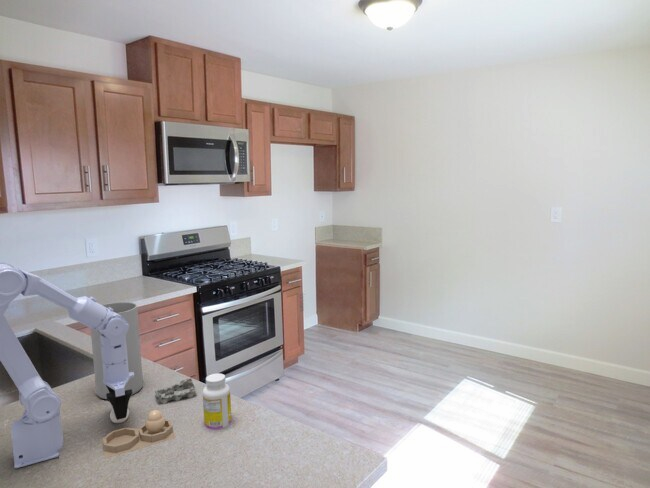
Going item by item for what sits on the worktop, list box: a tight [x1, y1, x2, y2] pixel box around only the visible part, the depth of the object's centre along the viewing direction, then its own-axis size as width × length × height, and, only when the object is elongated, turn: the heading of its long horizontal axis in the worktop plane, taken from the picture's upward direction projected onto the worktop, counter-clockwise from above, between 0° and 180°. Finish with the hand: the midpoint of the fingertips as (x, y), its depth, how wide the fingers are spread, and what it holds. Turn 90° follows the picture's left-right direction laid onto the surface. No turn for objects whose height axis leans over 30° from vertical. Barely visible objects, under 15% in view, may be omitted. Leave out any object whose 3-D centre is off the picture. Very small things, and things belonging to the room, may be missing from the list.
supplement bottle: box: [202, 373, 233, 430], centre depth 109 cm, size 7×7×13 cm
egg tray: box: [101, 418, 177, 459], centre depth 104 cm, size 15×9×2 cm, turn 120°
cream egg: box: [109, 406, 130, 424], centre depth 111 cm, size 4×4×6 cm
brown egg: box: [144, 409, 166, 435], centre depth 105 cm, size 4×4×6 cm
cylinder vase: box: [90, 301, 144, 400], centre depth 128 cm, size 12×12×25 cm
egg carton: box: [154, 377, 197, 405], centre depth 124 cm, size 11×8×4 cm
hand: (119, 411), depth 111 cm, fingers open, 7 cm apart
